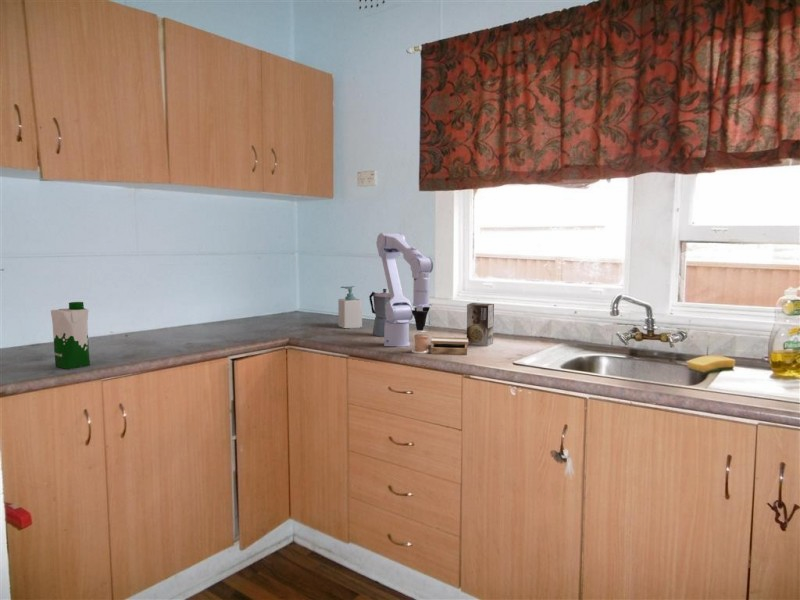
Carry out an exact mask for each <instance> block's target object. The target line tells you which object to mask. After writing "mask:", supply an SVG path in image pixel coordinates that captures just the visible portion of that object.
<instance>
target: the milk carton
mask: <svg viewBox="0 0 800 600" xmlns="http://www.w3.org/2000/svg"><path fill="white" fill-rule="evenodd" d="M84 304H85V303H84V301H72V302H71V301H70V302H68V308H58V309H51V310H50V315H51V323H52V335H53V347H54V348H53V350H54V351H53V352H54V361H55V362H54V363H55V367H57V368H60V369H63V368H64V370H71V368H72V369H76V367H77V368H81V367H80V366H83V367H86V366H85V365H88V366H90V365H91V359H90V346H89V331H88V329H89V328H88V319H89V311H90V310H89V309H88V308H84V307H85V306H84Z"/></svg>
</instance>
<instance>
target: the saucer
mask: <svg viewBox="0 0 800 600" xmlns="http://www.w3.org/2000/svg"><path fill="white" fill-rule="evenodd" d="M411 352H412V353H414V354H428V353H430V349H428V348H427V351H424V352H418V351H415V348H413V349H411Z"/></svg>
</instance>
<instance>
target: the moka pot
mask: <svg viewBox="0 0 800 600" xmlns="http://www.w3.org/2000/svg"><path fill="white" fill-rule="evenodd" d="M387 289H388V288H383V289H382V292H375V291H371V293H370V295H369V296H368V297H369V303H370V307H371V312H372V314H374V315H375V318H374V323H373V328H372V335H373V336H376V337H383V338H384V328H385V322H389V321H388V320H387V318H386V314H385V312H386V308H385V305H386V303H387V302H388V301H389V300H390V295H389V292H387ZM372 298H373V299H372Z"/></svg>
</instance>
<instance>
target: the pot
mask: <svg viewBox="0 0 800 600" xmlns="http://www.w3.org/2000/svg"><path fill="white" fill-rule="evenodd" d="M413 337H414V349H415V351H418V352H424V351H427V349H428V338H429V334H426V333H425V334H423V333H421V334H419V333H418V334H414V335H413Z"/></svg>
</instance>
